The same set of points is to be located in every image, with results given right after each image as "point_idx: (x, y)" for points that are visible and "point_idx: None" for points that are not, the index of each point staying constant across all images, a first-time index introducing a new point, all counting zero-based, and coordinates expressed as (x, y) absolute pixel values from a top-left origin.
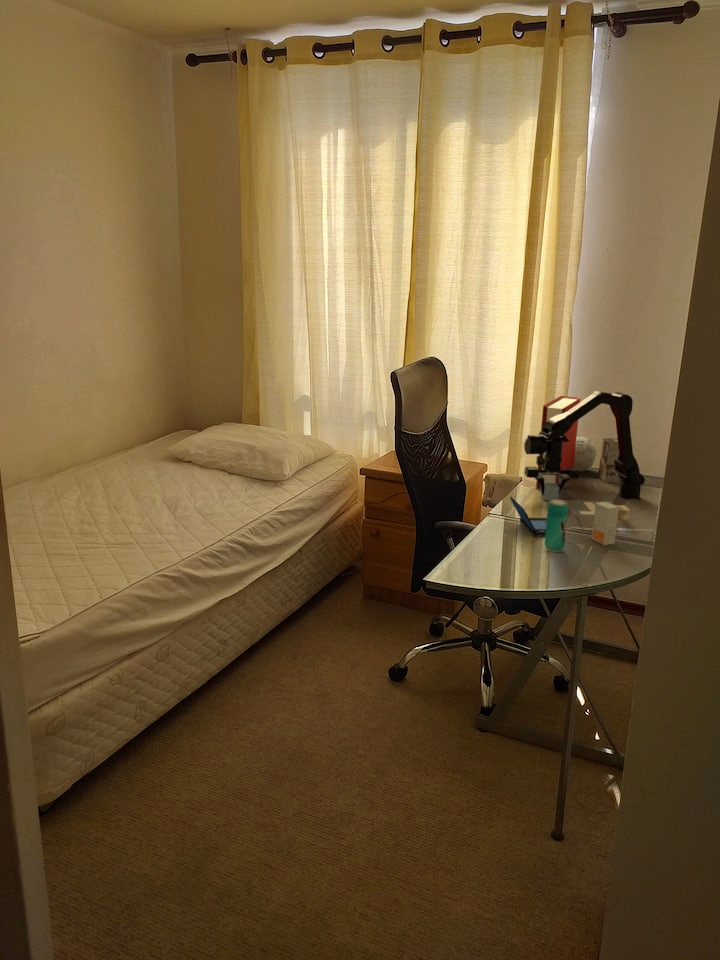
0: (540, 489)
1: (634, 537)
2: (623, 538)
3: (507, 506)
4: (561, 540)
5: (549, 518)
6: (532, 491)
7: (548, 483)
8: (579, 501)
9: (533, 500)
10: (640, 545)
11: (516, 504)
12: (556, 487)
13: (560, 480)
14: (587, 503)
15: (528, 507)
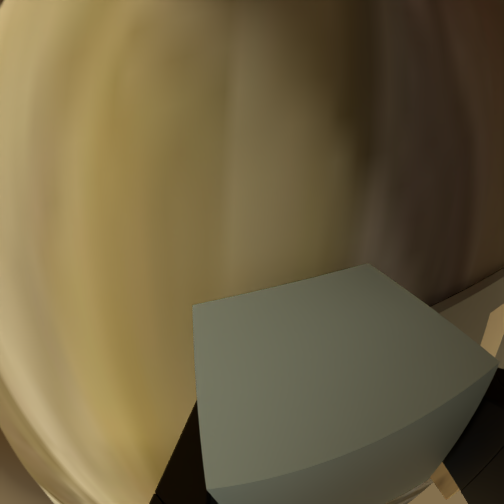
0: (180, 452)
1: (426, 484)
2: (402, 499)
3: (40, 471)
4: None
5: None
6: (93, 13)
7: (355, 469)
8: (481, 309)
9: (123, 377)
10: (410, 499)
11: None
12: (397, 491)
13: (498, 489)
14: (493, 329)
15: (137, 483)
